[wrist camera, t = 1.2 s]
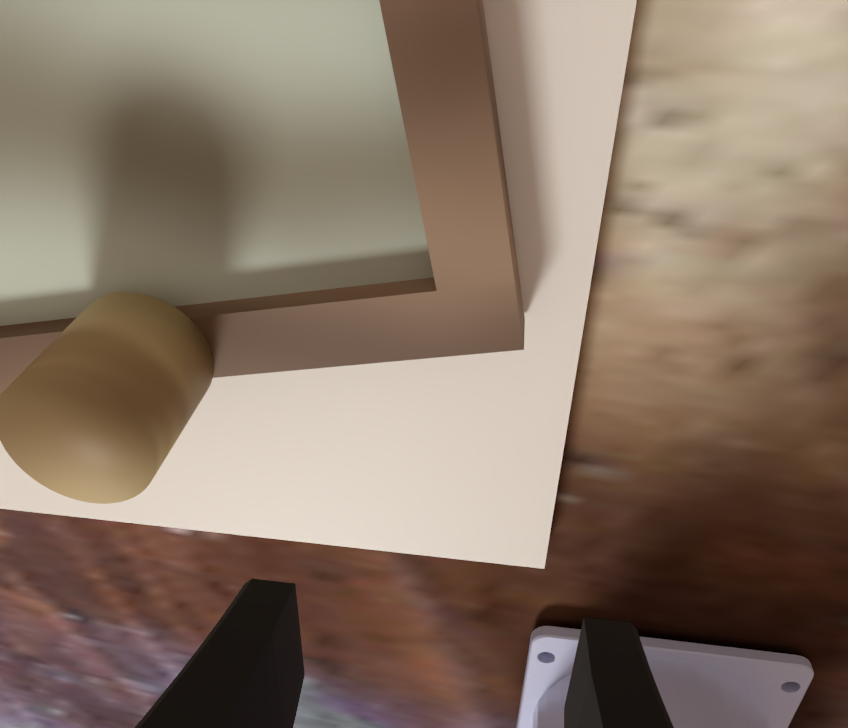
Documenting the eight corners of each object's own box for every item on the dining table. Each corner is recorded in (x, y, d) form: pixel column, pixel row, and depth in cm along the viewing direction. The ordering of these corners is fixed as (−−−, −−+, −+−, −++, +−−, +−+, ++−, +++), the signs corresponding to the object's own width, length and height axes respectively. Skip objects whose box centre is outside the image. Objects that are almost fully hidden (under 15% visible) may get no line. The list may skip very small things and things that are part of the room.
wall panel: (544, 546, 21) (544, 570, 20) (-164, 469, 23) (-186, 489, 22) (715, -533, 10) (728, -563, 9) (-685, -511, 12) (-763, -535, 11)
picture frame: (528, 349, 17) (526, 480, 13) (-93, 405, 20) (-227, 522, 16) (445, -285, 11) (401, -351, 7) (-405, -62, 14) (-711, -36, 11)
